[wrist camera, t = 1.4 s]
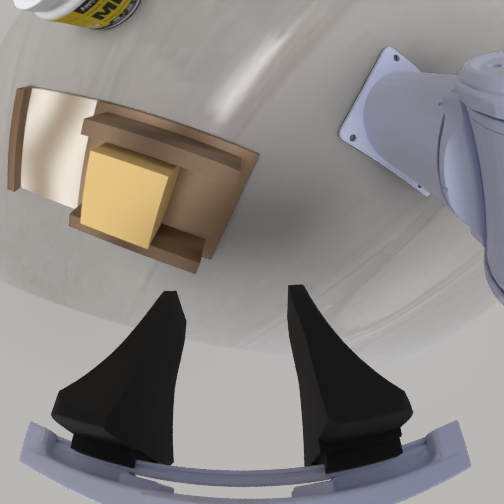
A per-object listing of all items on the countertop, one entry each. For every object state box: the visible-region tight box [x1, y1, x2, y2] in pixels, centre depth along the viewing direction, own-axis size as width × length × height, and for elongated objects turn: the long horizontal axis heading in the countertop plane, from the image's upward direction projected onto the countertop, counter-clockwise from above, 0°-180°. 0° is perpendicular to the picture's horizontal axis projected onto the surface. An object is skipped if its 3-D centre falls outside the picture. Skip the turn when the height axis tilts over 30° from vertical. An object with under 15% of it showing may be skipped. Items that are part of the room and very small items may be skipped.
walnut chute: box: [8, 86, 259, 274], centre depth 16 cm, size 20×9×4 cm, turn 66°
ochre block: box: [80, 142, 181, 249], centre depth 16 cm, size 5×5×4 cm
